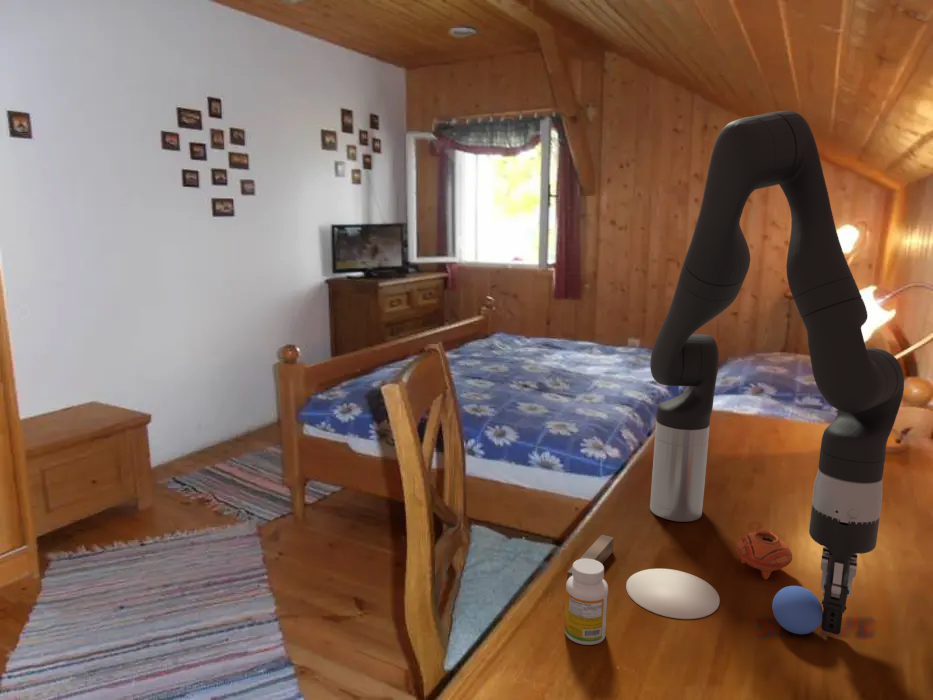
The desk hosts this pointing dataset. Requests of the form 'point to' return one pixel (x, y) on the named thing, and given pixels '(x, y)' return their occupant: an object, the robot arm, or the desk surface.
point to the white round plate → (672, 593)
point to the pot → (764, 552)
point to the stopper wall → (597, 551)
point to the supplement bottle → (586, 603)
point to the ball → (797, 610)
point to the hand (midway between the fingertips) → (830, 629)
